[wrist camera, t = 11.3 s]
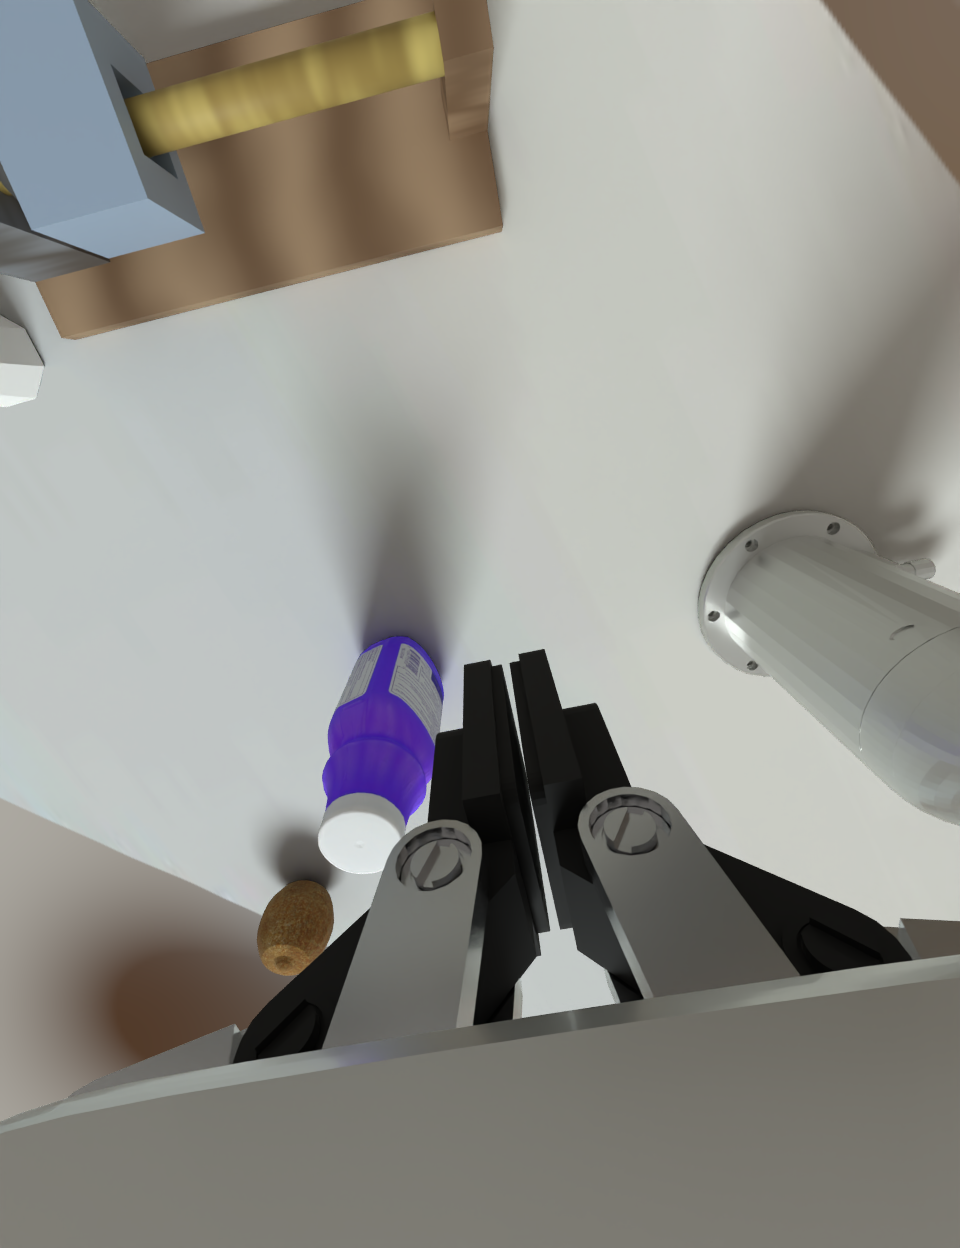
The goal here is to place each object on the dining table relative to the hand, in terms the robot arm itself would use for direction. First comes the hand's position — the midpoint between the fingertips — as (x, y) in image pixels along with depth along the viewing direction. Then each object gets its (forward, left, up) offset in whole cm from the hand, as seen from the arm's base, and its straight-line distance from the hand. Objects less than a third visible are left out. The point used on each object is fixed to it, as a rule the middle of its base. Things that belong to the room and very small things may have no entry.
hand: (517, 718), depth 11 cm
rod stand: (+9, -19, -27) cm, 34 cm away
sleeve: (+13, -19, -22) cm, 32 cm away
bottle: (+9, +12, -27) cm, 31 cm away
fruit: (+24, +32, -27) cm, 49 cm away
